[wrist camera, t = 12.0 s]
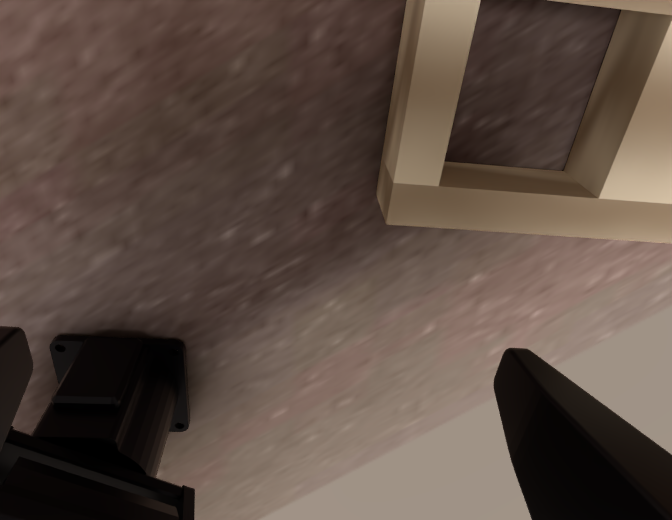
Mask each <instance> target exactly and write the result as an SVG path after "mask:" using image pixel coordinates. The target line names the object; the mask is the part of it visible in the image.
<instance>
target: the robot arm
mask: <svg viewBox="0 0 672 520" xmlns="http://www.w3.org/2000/svg"><path fill="white" fill-rule="evenodd" d="M59 344H60V345H63V346H64V347H62V346H60V345H59ZM171 349H176V350H177V351H173V350H171ZM50 351H51V355H52V359H53V363H54V367H55V371H56V375H57V379H58V383H59V386H58V387H57V389H56V391H55V393H54V394H53V396H52V399H51V402H50V403H49V405H48V407H47V409H46V410H45V412H44V414H43V416H42V417H41V419H40V421H39V423H38V424H37V426H36V428H35V430H34V431H33V433H32V435H28V434H25V433H23V432H20V431H17V430H14V429H13V427H12V426H11V425H12V422H13V420H14V417H15V415H16V412H17V410H18V407H19V405H20V402H21V400H22V397H23V395H24V392H25V390H26V387H27V385H28V382H29V380H30V377H31V375H32V371H33V360H32V356H31V353H30V349H29V346H28V342H27V339H26V335H25V332H24V331H23V330H22V329H21V328H19V327H7V326H0V520H194V501H195V489H193V488H190V487H187V486H184V485H183V486H182V487H181V486H178V485H175V484H172V483H169V482H166V481H163V480H160V479H157V478H156V475H157V471H158V468H159V464H160V461H161V457H162V454H163V450H164V447H165V443H166V440H167V436H168V432H183V431H186V430H187V429H188V427H189V423H190V413H189V399H188V384H187V369H186V355H185V346H184V344H183V343H182V342H180V341H178V340H166V339H140V338H114V337H89V336H63V335H61V336H57V337H55V338H54V339H53V341H52V342H51V344H50ZM494 391H495V396H496V400H497V404H498V408H499V412H500V417H501V421H502V425H503V429H504V433H505V437H506V442H507V446H508V450H509V453H510V458H511V461H512V464H513V467H514V470H515V473H516V476H517V479H518V482H519V484H520V487H521V490H522V493H523V495H524V498H525V501H526V504H527V507H528V510H529V513H530V515H531V518H532V520H672V455H671V454H670V453H668V452H667V451H666V450H665V449H663V448H662V447H660V446H659V445H658V444H656V443H655V442H654V441H652V440H651V439H650V438H648V437H647V436H645V435H644V434H643V433H641V432H640V431H639V430H637V429H636V428H635V427H633V426H632V425H631V424H629V423H628V422H627V421H625V420H624V419H622V418H621V417H620V416H618V415H617V414H616V413H614V412H613V411H612V410H610V409H609V408H608V407H606V406H605V405H603V404H602V403H601V402H599V401H598V400H596V399H595V398H594V397H593V396H591V395H590V394H589V393H587V392H586V391H584V390H583V389H582V388H580V387H579V386H578V385H576V384H575V383H574V382H572V381H571V380H569V379H568V378H567V377H566V376H564V375H563V374H561V373H560V372H559V371H557V370H556V369H555V368H553V367H552V366H551V365H549V364H548V363H547V362H545V361H544V360H542V359H541V358H540V357H538V356H537V355H536V354H534V353H533V352H532V351H530V350H528V349H524V348H508V349H506V350H505V352H504V354H503V356H502V359H501V361H500V364H499V367H498V370H497V372H496V375H495V378H494Z"/></svg>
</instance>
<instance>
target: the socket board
mask: <svg viewBox="0 0 672 520" xmlns="http://www.w3.org/2000/svg"><path fill="white" fill-rule="evenodd" d="M480 1H481V0H407V2H406V8H405V14H404V21H403V27H402V33H401V39H400V46H399V52H398V58H397V65H396V71H395V77H394V84H393V90H392V96H391V103H390V109H389V115H388V122H387V128H386V134H385V141H384V147H383V153H382V159H381V166H380V172H379V178H378V185H377V191H376V195H377V198H378V201H379V204H380V207H381V210H382V213H383V217H384V220H385V223H386V224H387V225H402V226H417V227H432V228H447V229H462V230H477V231H492V232H507V233H522V234H537V235H552V236H567V237H582V238H597V239H612V240H627V241H642V242H657V243H672V0H549V1H557V2H566V3H574V4H582V5H590V6H599V7H607V8H615V9H622V10H621V13H620V16H619V18H618V21H617V24H616V27H615V30H614V32H613V35H612V38H611V41H610V43H609V46H608V49H607V52H606V55H605V57H604V60H603V63H602V66H601V68H600V71H599V74H598V77H597V80H596V82H595V85H594V88H593V91H592V93H591V96H590V99H589V102H588V105H587V107H586V110H585V113H584V116H583V118H582V121H581V124H580V127H579V130H578V132H577V135H576V138H575V141H574V143H573V146H572V149H571V152H570V155H569V157H568V160H567V163H566V166H565V168H564V171H556V170H544V169H532V168H519V167H507V166H495V165H483V164H471V163H458V162H446V161H444V160H445V156H446V151H447V147H448V143H449V138H450V134H451V129H452V125H453V120H454V116H455V112H456V107H457V103H458V98H459V94H460V90H461V85H462V81H463V76H464V72H465V68H466V63H467V59H468V54H469V50H470V45H471V41H472V37H473V32H474V28H475V23H476V19H477V15H478V10H479V6H480Z"/></svg>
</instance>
